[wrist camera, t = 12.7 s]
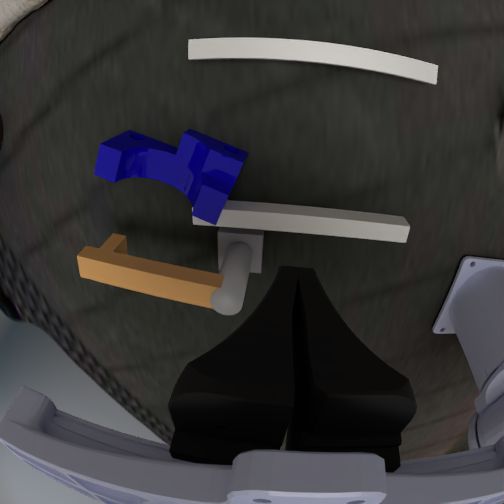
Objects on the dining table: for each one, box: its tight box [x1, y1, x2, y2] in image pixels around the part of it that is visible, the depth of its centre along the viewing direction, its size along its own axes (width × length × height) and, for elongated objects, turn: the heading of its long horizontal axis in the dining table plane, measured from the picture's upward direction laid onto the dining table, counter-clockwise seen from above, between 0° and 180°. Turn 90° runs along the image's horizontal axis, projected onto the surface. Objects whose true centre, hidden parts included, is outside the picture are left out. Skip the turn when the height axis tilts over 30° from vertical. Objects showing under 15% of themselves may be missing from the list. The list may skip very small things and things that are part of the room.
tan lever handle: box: [77, 233, 253, 315], centre depth 20 cm, size 10×2×5 cm, turn 81°
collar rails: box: [188, 38, 438, 273], centre depth 19 cm, size 14×15×2 cm
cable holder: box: [94, 129, 248, 226], centre depth 18 cm, size 8×4×4 cm, turn 67°
